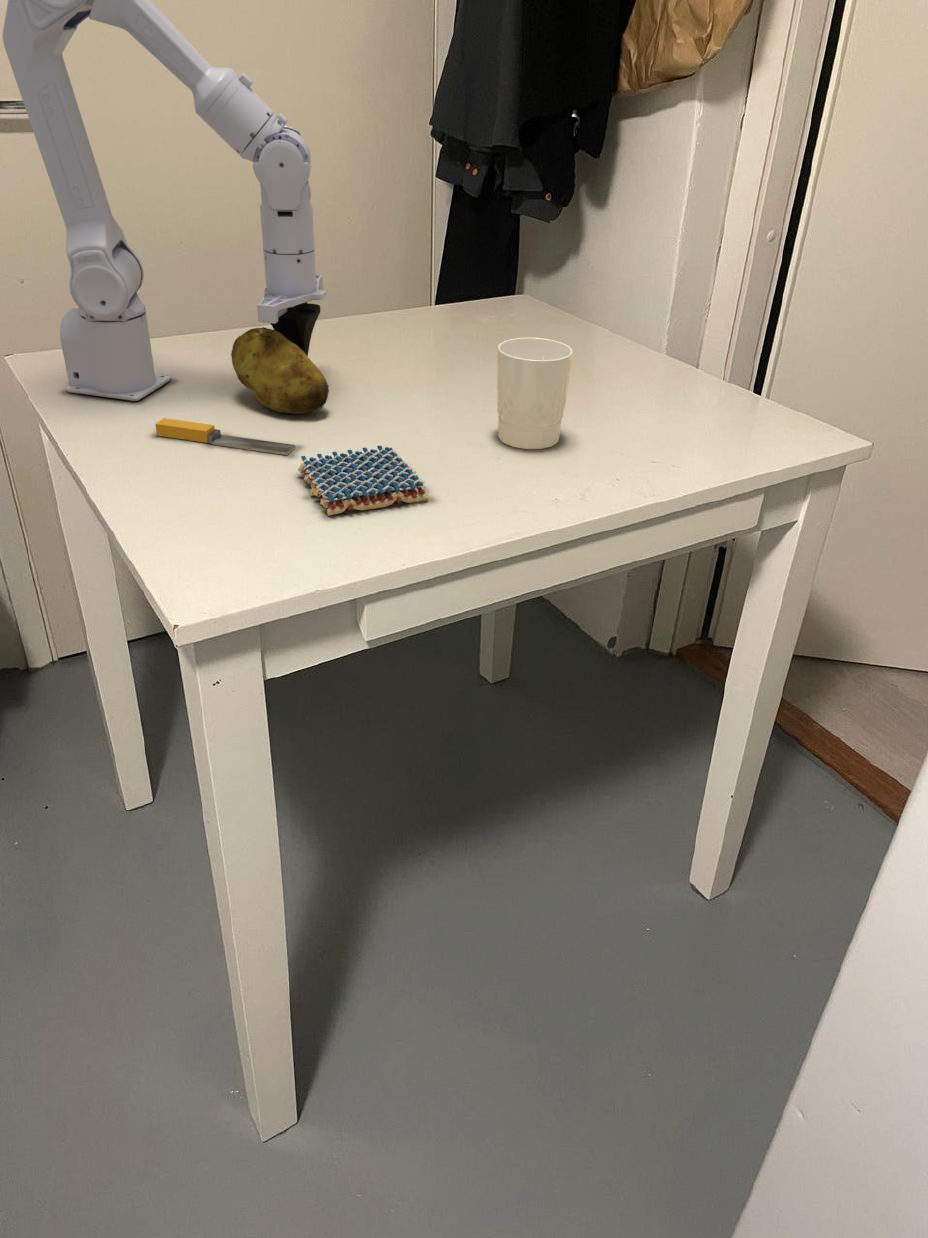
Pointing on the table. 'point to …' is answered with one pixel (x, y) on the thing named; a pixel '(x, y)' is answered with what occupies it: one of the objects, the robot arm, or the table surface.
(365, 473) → the woven mat
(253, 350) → the potato
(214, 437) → the knife
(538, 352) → the white cup
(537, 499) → the table surface
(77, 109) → the robot arm
